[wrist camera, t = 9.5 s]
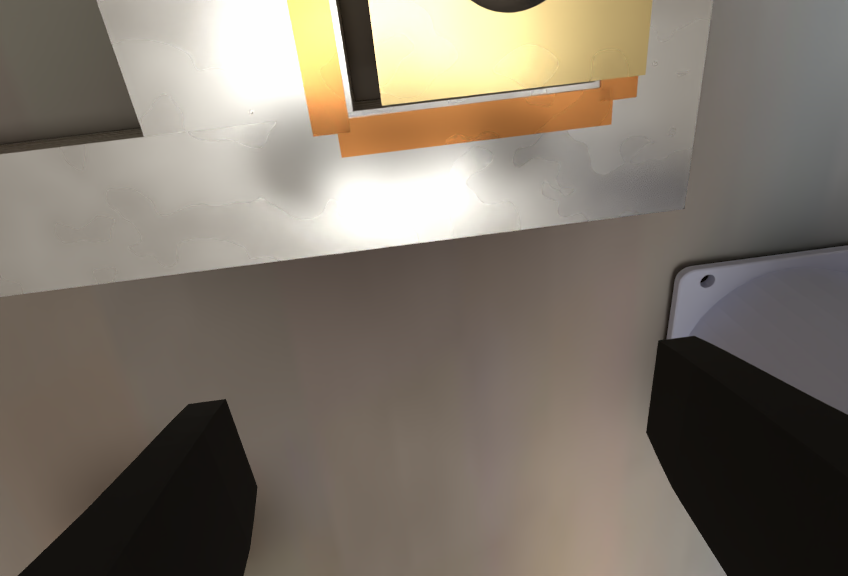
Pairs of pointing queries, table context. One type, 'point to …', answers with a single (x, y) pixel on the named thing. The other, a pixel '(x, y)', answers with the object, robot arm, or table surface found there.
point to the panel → (328, 150)
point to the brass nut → (503, 45)
